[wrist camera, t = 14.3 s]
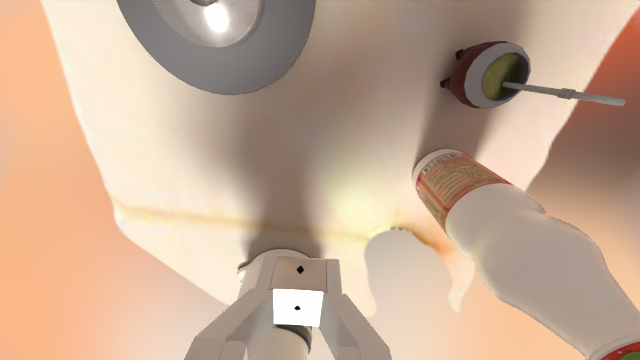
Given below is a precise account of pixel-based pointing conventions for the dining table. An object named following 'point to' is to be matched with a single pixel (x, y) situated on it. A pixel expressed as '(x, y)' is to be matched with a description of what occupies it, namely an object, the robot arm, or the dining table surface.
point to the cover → (213, 20)
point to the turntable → (226, 63)
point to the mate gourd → (501, 77)
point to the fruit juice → (530, 256)
